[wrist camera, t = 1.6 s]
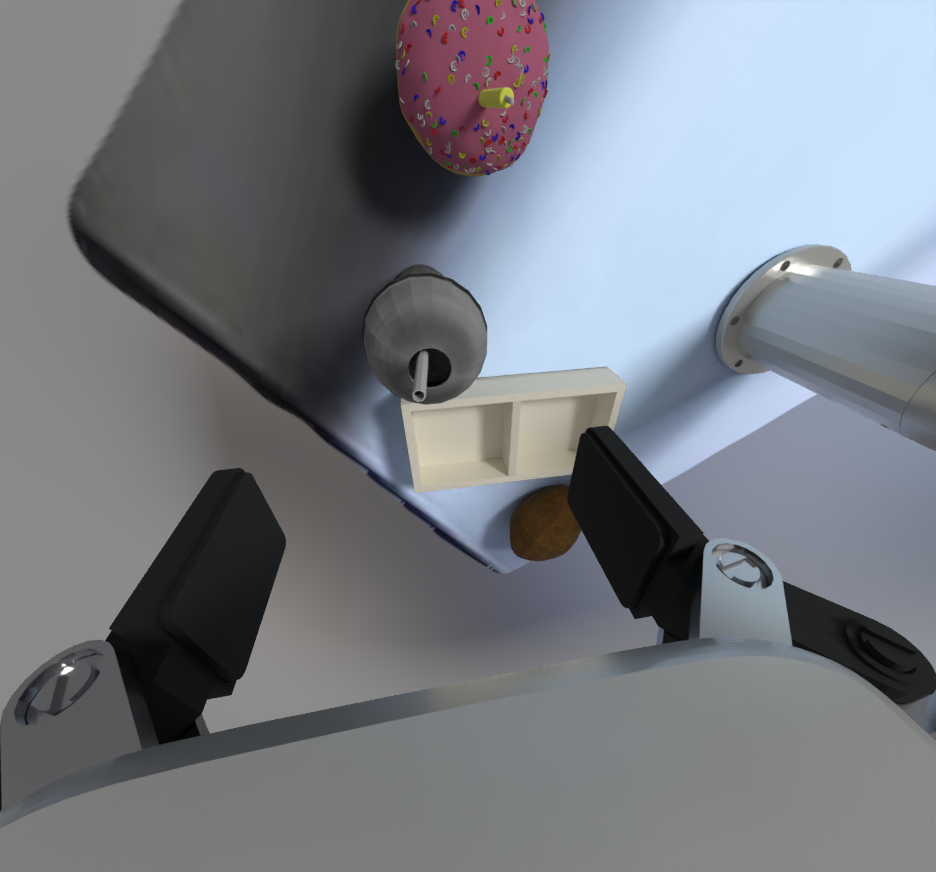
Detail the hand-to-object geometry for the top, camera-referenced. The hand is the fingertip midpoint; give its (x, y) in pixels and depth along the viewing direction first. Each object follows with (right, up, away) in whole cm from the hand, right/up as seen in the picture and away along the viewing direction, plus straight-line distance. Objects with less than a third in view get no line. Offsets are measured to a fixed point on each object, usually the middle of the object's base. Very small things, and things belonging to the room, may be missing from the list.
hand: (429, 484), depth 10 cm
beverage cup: (-3, +14, +19) cm, 24 cm away
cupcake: (+1, +24, +13) cm, 27 cm away
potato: (+11, -8, +37) cm, 40 cm away
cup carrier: (+5, +3, +28) cm, 29 cm away
